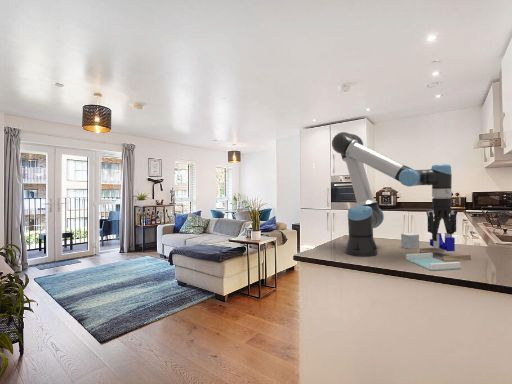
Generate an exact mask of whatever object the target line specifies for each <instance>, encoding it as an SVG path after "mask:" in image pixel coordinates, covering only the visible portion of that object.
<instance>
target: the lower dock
mask: <svg viewBox="0 0 512 384" xmlns="http://www.w3.org/2000/svg"><path fill="white" fill-rule="evenodd" d="M405 260H406V261H408V262H410V263H413V264H414V265H417V266H420V267H422V268H423V269H426V270H428V271H448V270H449V271H450V270H461V262H460V261H452V262H451V261H448V262H447V261H443V260H440V259H438V258H435V257H434V252H426V253H420V252H419V253H407V254H405Z"/></svg>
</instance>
